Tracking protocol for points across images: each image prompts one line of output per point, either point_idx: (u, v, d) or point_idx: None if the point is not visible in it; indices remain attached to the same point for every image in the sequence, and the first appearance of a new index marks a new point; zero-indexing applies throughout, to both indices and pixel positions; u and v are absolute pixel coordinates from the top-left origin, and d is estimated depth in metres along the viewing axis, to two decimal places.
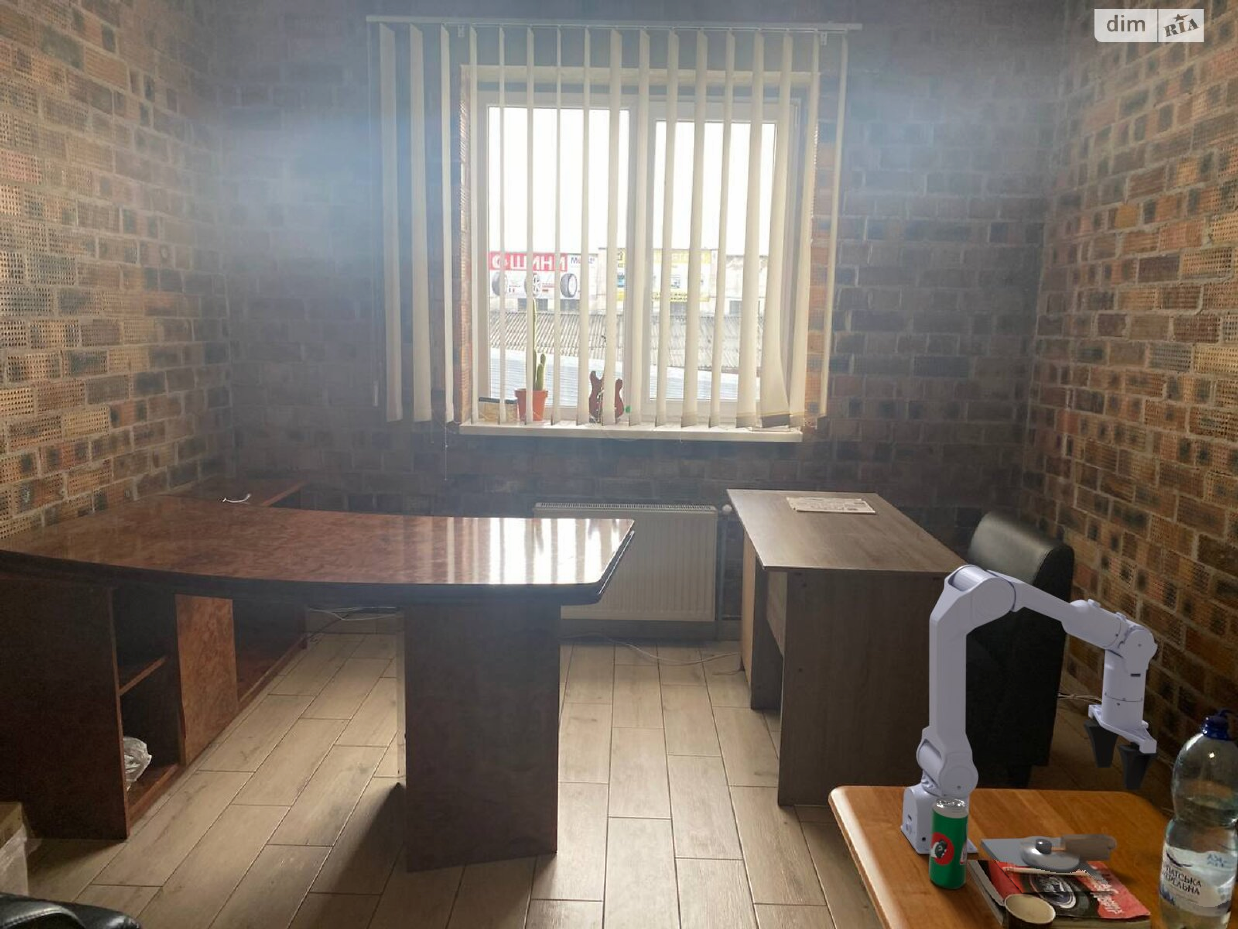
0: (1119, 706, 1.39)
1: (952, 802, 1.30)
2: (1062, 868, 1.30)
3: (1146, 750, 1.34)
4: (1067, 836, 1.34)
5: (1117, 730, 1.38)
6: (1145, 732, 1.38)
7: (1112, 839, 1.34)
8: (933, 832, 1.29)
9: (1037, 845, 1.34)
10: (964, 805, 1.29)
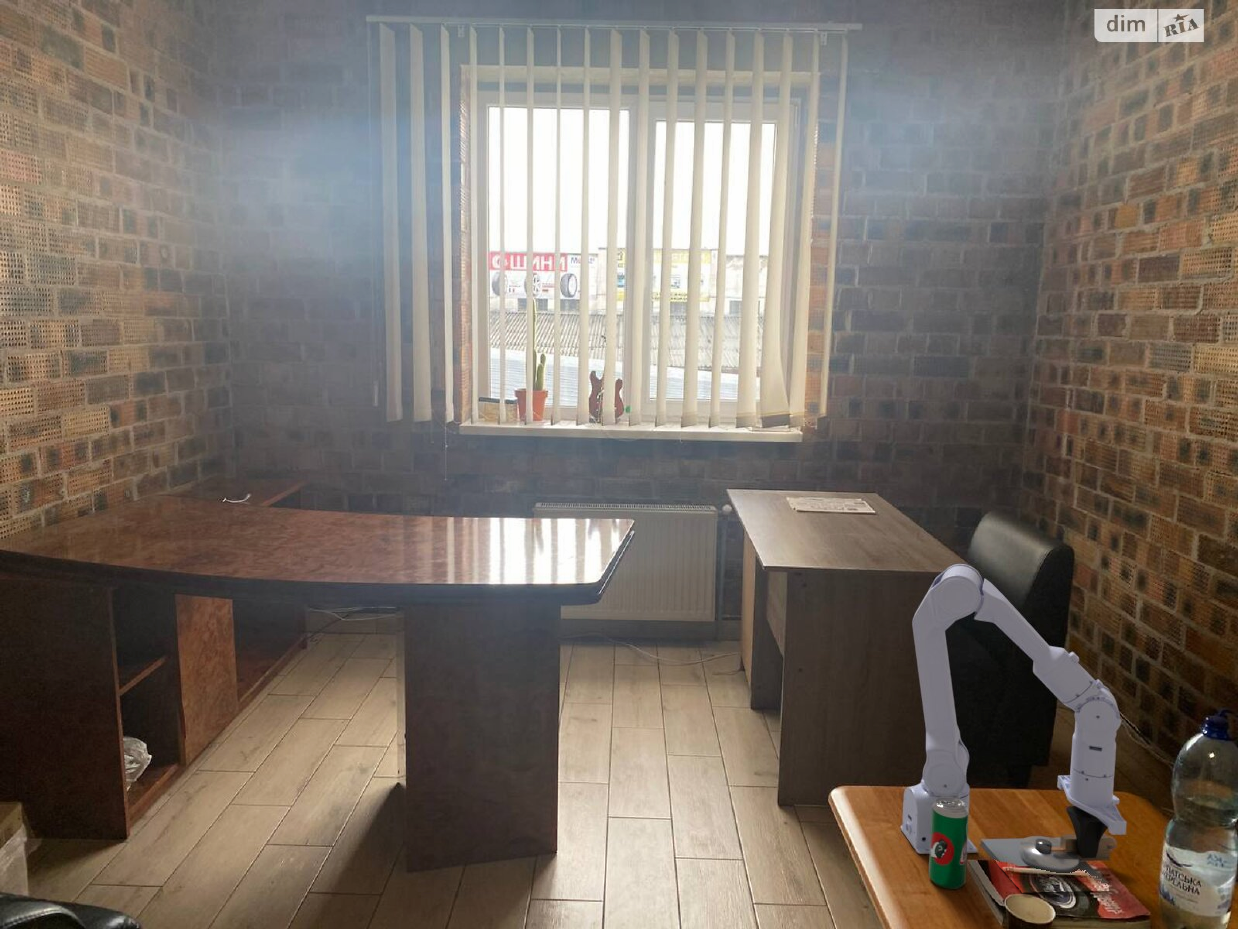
0: (1087, 782, 1.30)
1: (952, 802, 1.30)
2: (1063, 868, 1.30)
3: (1115, 831, 1.25)
4: (1067, 836, 1.34)
5: (1085, 807, 1.30)
6: (1115, 810, 1.29)
7: (1112, 839, 1.34)
8: (933, 832, 1.29)
9: (1037, 845, 1.34)
10: (964, 805, 1.29)
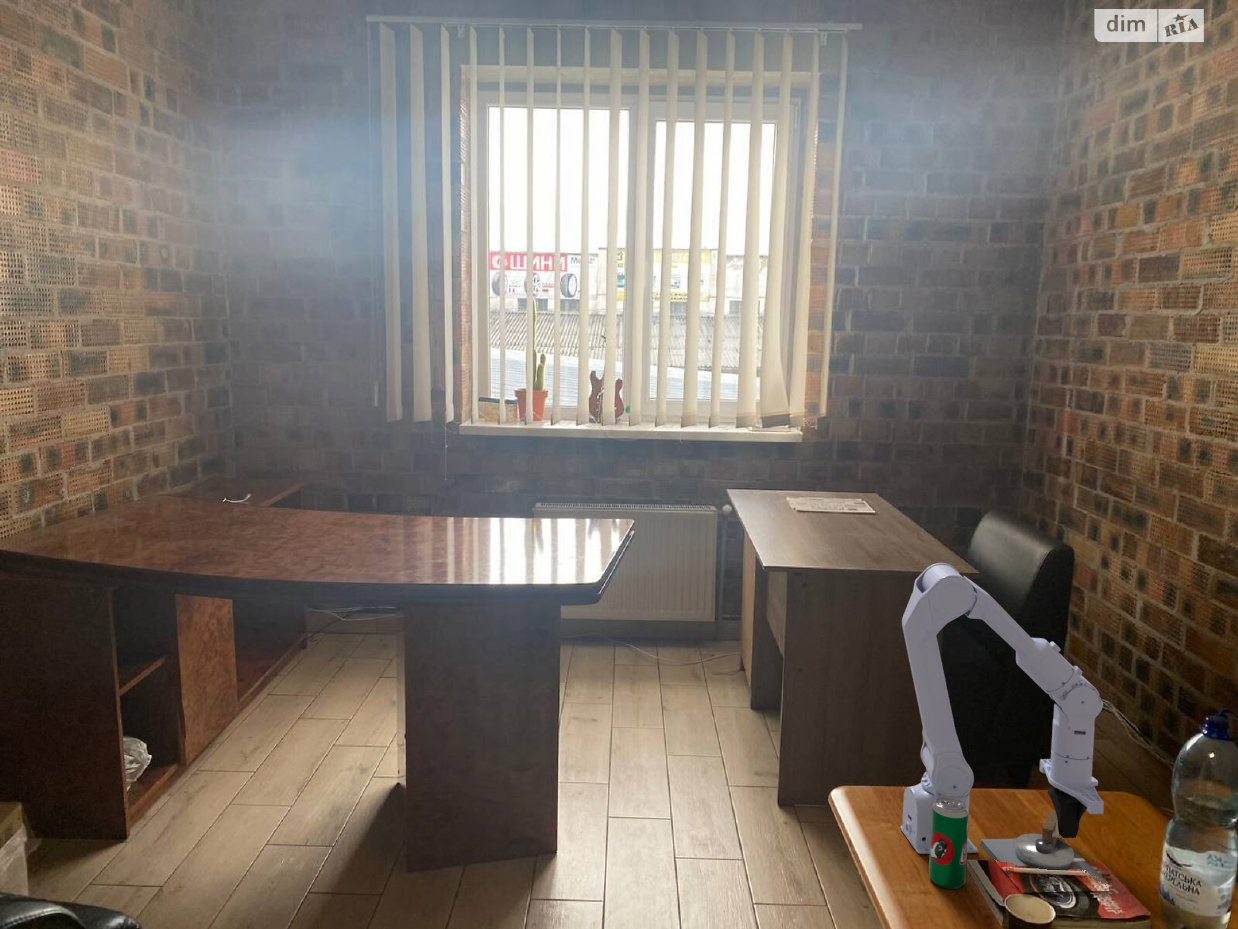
0: (1067, 764, 1.35)
1: (952, 802, 1.30)
2: (1073, 860, 1.33)
3: (1093, 811, 1.31)
4: (1047, 826, 1.37)
5: (1065, 789, 1.35)
6: (1094, 791, 1.35)
7: None
8: (933, 832, 1.29)
9: (1043, 848, 1.33)
10: (964, 805, 1.29)
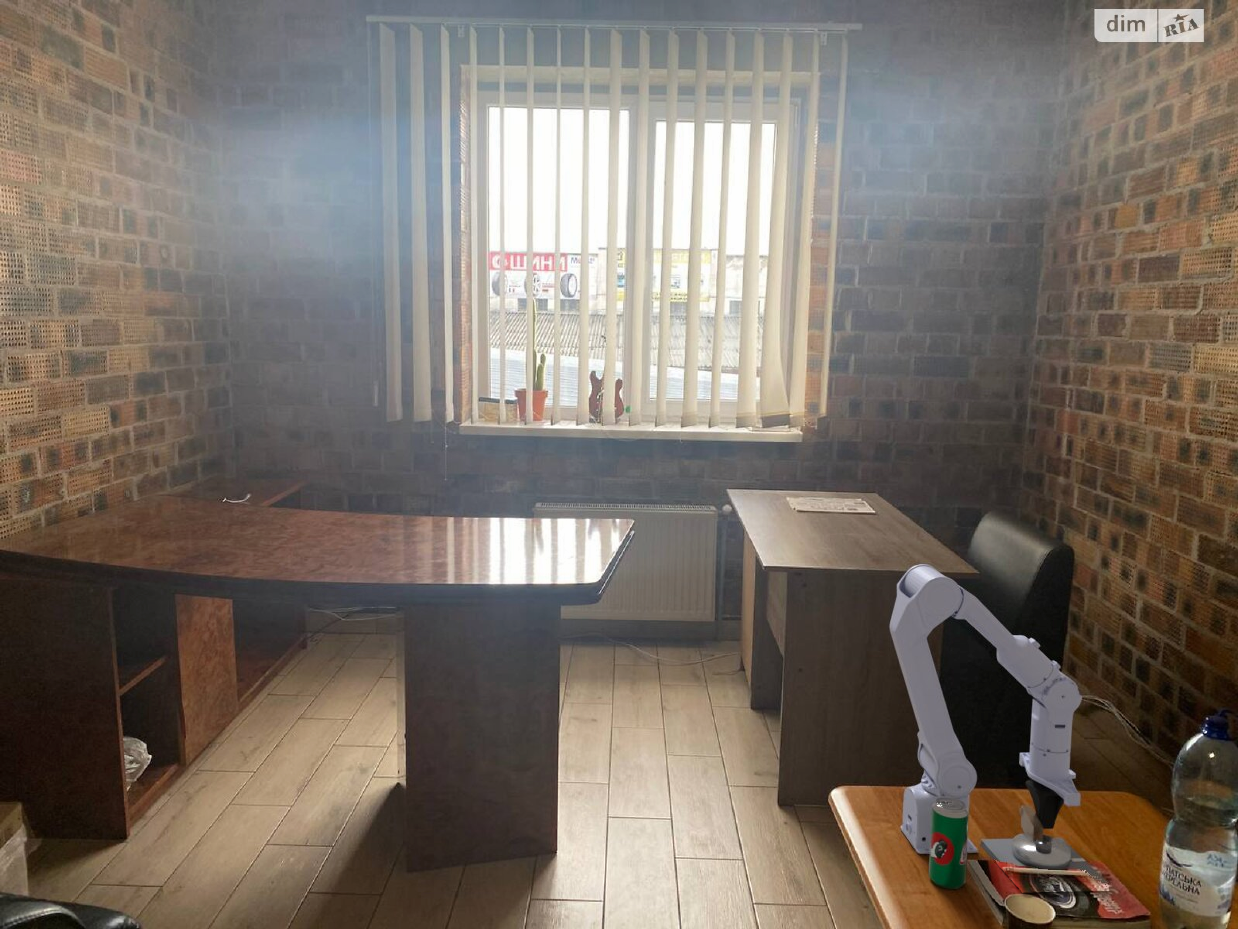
0: (1045, 757, 1.38)
1: (952, 802, 1.30)
2: None
3: (1070, 803, 1.33)
4: (1036, 825, 1.38)
5: (1043, 781, 1.38)
6: (1071, 783, 1.37)
7: None
8: (933, 832, 1.29)
9: (1047, 848, 1.33)
10: (964, 805, 1.29)
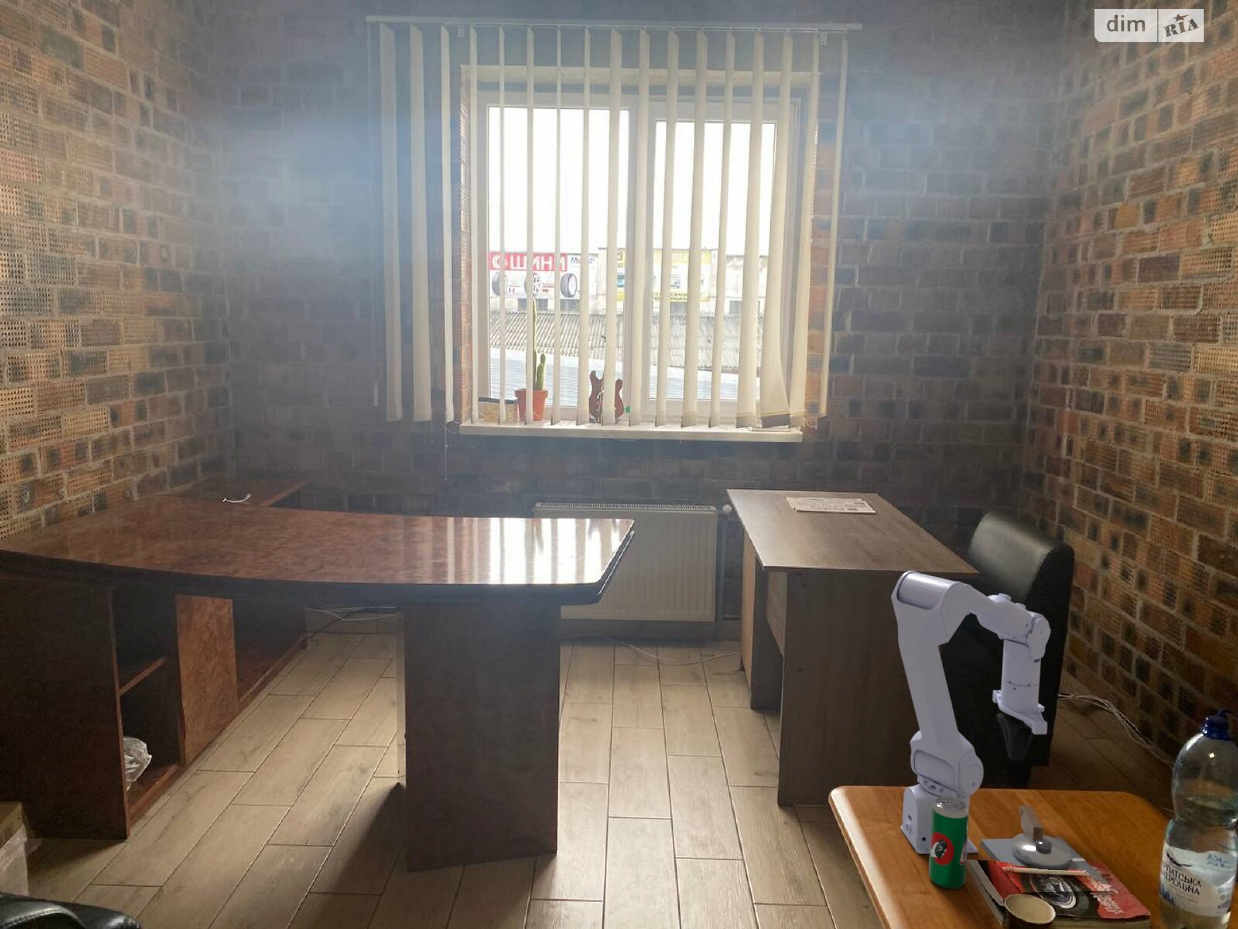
0: (1015, 690, 1.47)
1: (952, 802, 1.30)
2: None
3: (1037, 731, 1.43)
4: (1036, 825, 1.38)
5: (1013, 713, 1.47)
6: (1039, 715, 1.46)
7: None
8: (933, 832, 1.29)
9: (1047, 848, 1.33)
10: (964, 805, 1.29)
